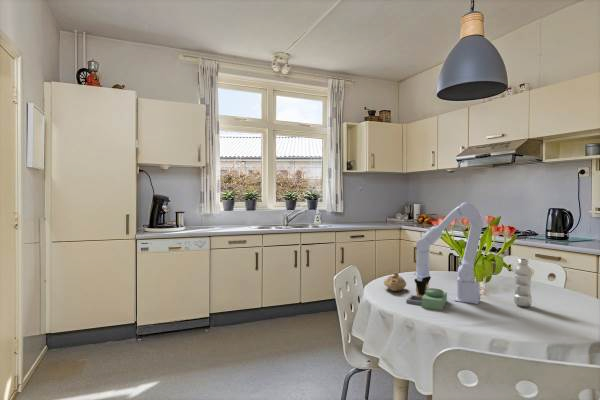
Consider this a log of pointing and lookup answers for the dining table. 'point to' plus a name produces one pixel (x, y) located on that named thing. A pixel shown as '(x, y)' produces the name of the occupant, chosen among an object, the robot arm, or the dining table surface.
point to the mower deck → (430, 299)
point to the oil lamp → (395, 282)
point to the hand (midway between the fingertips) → (422, 293)
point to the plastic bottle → (523, 284)
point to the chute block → (425, 289)
